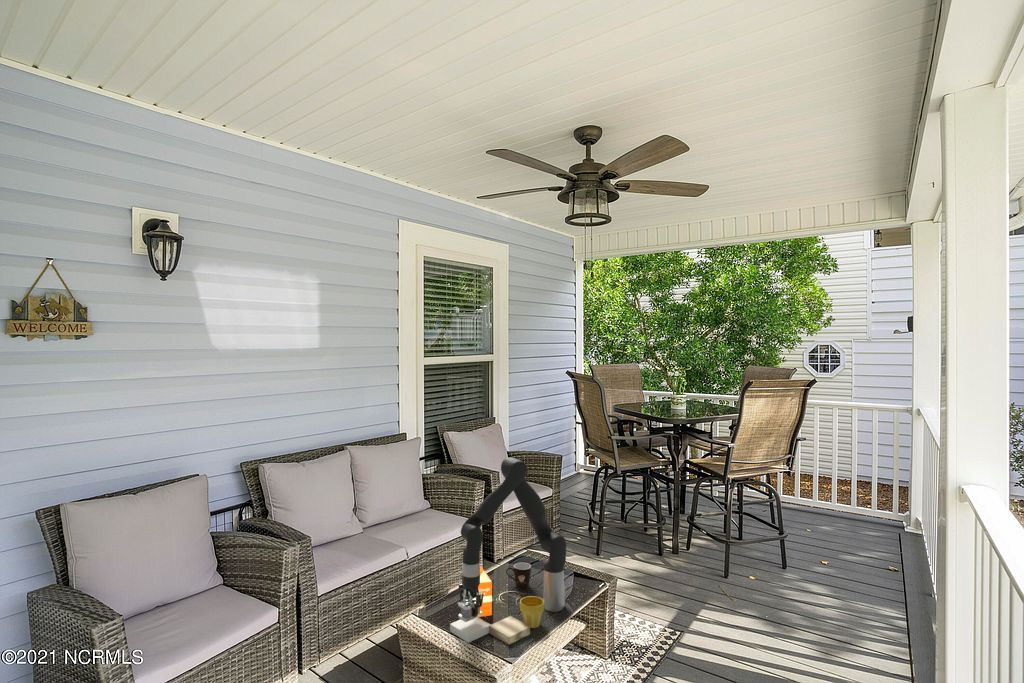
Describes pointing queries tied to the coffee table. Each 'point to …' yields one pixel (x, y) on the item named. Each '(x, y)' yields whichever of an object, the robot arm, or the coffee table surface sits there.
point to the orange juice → (485, 593)
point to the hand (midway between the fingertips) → (470, 613)
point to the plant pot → (532, 610)
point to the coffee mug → (521, 575)
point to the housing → (467, 610)
